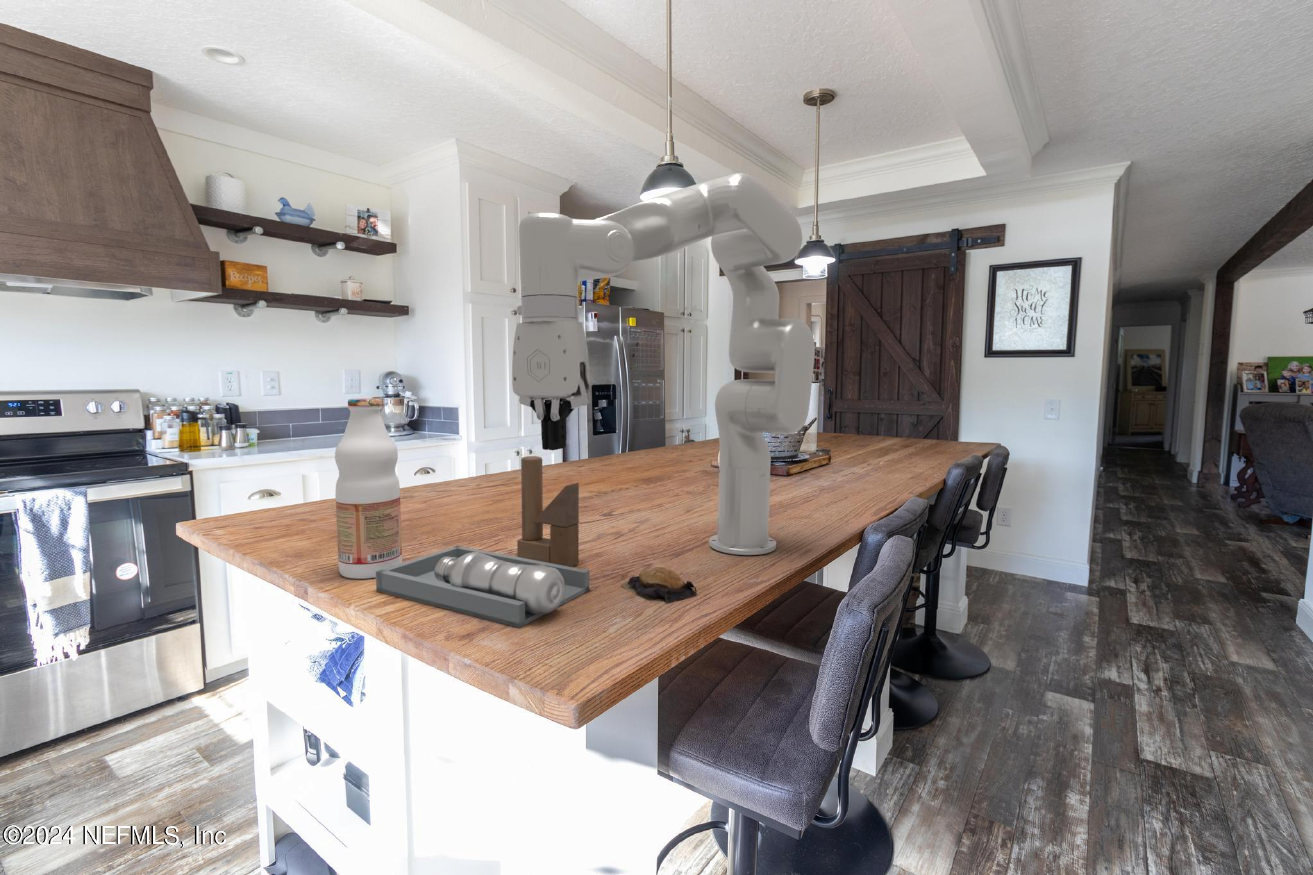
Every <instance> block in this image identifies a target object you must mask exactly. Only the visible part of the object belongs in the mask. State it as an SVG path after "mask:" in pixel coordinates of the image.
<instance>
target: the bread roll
mask: <svg viewBox="0 0 1313 875" xmlns="http://www.w3.org/2000/svg"><path fill="white" fill-rule="evenodd" d="M620 587H621V588H622V589H625V590H627V591H629V592H630V593H632V594H635V595H637V596H639V597H642V598H645V599H646V600H650V601H653V602H661V603H663V602H665V603H666V604H667V605H669V604H671V603H672V604H673V603H675V602H680V601H682V600H688V599H692V598H693V597H695V596H696V595H697V588H696V586H695V585H694V584H693V582H691V581H689V580H687V581H686V582H685V580H684V579H683V578H682V577H681V576H680V575H679V574H678V573H677V572H676V571H674V570H673V569H670V568H666V567H664V566H663V567H662V566H656V567H652V568H648V569H644V570H642V571H641V572H640V573H639V574H638V575H637V576H631V577H630V578H629V580H628V581H627V582H624V583H621V585H620Z"/></svg>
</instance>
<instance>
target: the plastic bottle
mask: <svg viewBox="0 0 1313 875" xmlns="http://www.w3.org/2000/svg"><path fill="white" fill-rule="evenodd" d="M434 574H435V577H436V579H437V580H439V581H442V582H445V583H448V584H451V585H452V586H456V587H461V588H465V589H470V590H474V591H478V592H483V593H487V594H491V595H496V596H500V597H504V598H509V599H513V600H517V601H522V602H525V611H527V612H529V613H532V614H544V615H547V614H549V613H551V612H554V611H555V610H556V609H557V608H559V607H558V605H559V604H560V602H561V600H562V597H563V594H564V588H565V584H564V578H563V576H562V575H561V573H560V572H559V571H558V570H557V569H555V568H553V567H551V566H548V565H538V564H537V565H524V564H514V563H509V562H506V561H502V560H498V559H496V558H493V557H490V556H488V555H485V554H482V553H479V552H472V553H467V554H465V555H463V556H461V557H460V558H456V557H443V558H441V559H440V560H439V561H438V562H437V564H436V566H435V570H434Z"/></svg>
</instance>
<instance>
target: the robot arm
mask: <svg viewBox="0 0 1313 875" xmlns="http://www.w3.org/2000/svg"><path fill="white" fill-rule="evenodd" d="M802 231H803V230H802V228H801V224H800V222H799V220H798V218H797V217H796V215H794V213H793V212H792V211H791V210H790V209H789V208H788V206H787V205H785V204H784V203H783V201H781V200H780V199H779V197H777V195H775V194H774V193H773V191H772V190H770V188H768V187H767V186H766V185H765V184H764V183H762V182H761V181H760V180H759V179H757V178H755V177H754V176H752V175H750V174H747V173H744V172H737V173H735V172H734V173H732V174H729V175H724V176H721V177H717V178H714V179H710V180H706V181H703V182H699V183H697V184H693V185H690V186H687V187H684V188H681V189H678V190H673V191H671V192H667V193H665V194H662V195H658V196H655V197H651V198H649V199H645V200H643V201H641V202H638V203H636V204H633V205H631V206H628V207H626V208H623V209H621V210H618V211H616V212H613V213H611V214H607V215H604V216H602V217H597V218H595V219H583V218H580V219H579V218H571V217H569V216H568V215H565V214H561V213H555V212H535V213H531V214H527V215H525V216H524V217H523V218H522V219H521V220H520V222H519V225H518V243H519V244H518V248H519V270H520V271H519V272H520V274H519V276H520V277H519V278H520V297H521V298H520V302H521V303H520V305H518V306H517V307H516V313H517V314H518V316H521V322H518V323H516V326H515V327H516V328H515V331H514V337H513V345H512V346H513V347H512V359H511V360H512V361H511V362H512V363H511V366H512V367H511V368H512V369H511V385H512V386H511V387H512V392H513V393H514V395H516V396H518V397H519V400H518V401H519V403H520V404H521V405H523V406H526V407H530V408H531V409H532V410H533V412H534V413H535V414H536V418H537V420H539V421H540V429H541V430H540V431H541V448H542V450H545V451H548V450H549V451H556V450H562V449H565V448H566V447H567V445H566V442H567V420H569V419H570V417H571V414H572V412H573V411H574V410H575V409H576V408H577V409H578V408H581V407H585V406H587V405H589V404H588V403H589V399H588V393H589V391H590V384H591V378H590V377H591V373H590V360H589V351H588V350H589V349H588V344H587V337H586V333H585V328H584V325H583V322H581V321H580V313H579V312H580V311H579V309H580V308H579V306H580V304H579V282H584V281H585V282H586V281H589V280H599V279H604V278H610V277H614V276H618V275H619V274H621V273H623V272H624V271H625V270H627V269H628V268H629V266H630V265H631V264H632V262H637V261H644V260H645V261H646V260H649V259H650V260H651V259H654V258H658V257H662V256H665V255H669V254H671V253H674V252H676V251H679V250H681V249H683V248H685V247H689V246H691V245H693V244H694V243H695V244H696V243H698V242H701V241H703V240H705V239H707V238H711V240H710V247H711V252H712V256H713V258H714V259H715V261H716V263H717V264H718V267H720V269H721V270H722V272H723V274H724V275H725V277H726V279H727V280H728V281H727V282H729V285H730V288H731V291H732V309H731V310H732V312H731V321H730V322H731V323H730V333H729V340H728V341H729V342H728V343H729V345H728V358H729V362H730V364H731V366H732V367H733V368H734V369H736V370H737V371H739V372H744V373H767V374H769V373H771V374H772V373H773V374H774V375H775V376H774V378H775V379H756V378H755V379H754V378H752V379H751V378H750V379H747V378H746V379H745V378H744V379H736V380H731V381H729V382H727V383H724V385H722V386H721V387H720V388H719V389H718V391H717V393H716V396H715V401H714V410H715V418H716V422H717V430H718V438H719V442H718V443H719V461H718V462H719V463H718V465H719V466H718V468H719V469H718V503H717V504H718V506H717V508H718V510H717V513H718V514H717V519H718V520H717V534H714V535H712V536H711V537H710V538H709V540H708V541H709V546H710V548H712V549H713V550H716V551H718V552H721V553H724V554H729V555H739V556H740V555H741V556H757V555H764V554H765V555H766V554H769V553H773V551H775V550H776V549H777V541H776V540H775V539H774V538H772V537H770V536H769V525H770V521H769V520H770V518H769V517H770V488H771V485H770V484H771V482H770V481H771V460H772V457H771V450H770V448H769V444H768V442H767V440H766V439H765V436H764V435H763V433H765V434H766V433H767V434H778V435H792V434H795V433H797V432H799V431H800V430H801V429H803V427H804V426H805V424H806V421H807V419H808V416H809V411H810V404H811V396H812V395H811V394H812V386H813V374H814V367H815V366H814V365H815V353H816V352H815V347H816V346H815V340H814V336H813V332H812V331H811V329H810V326H808V324H807V323H806V322H804V321H803V320H801V319H798V318H791V317H790V318H779V312H780V292H779V289H778V286H777V284H776V283H775V280H774V278H772V276H771V274H770V273H769V272H768V271H767V269H766V268H765V267H767V266H772V265H780V264H784V263H787V262H790V261H791V260H794V258H796V256H797V255H798V254H799V252H800V251H801V248H802V244H803V232H802Z"/></svg>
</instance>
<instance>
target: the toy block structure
mask: <svg viewBox="0 0 1313 875" xmlns="http://www.w3.org/2000/svg"><path fill="white" fill-rule="evenodd" d="M520 464H521V465H520V468H521V470H520V472H521V474H520V476H521V483H520V484H521V489H520V490H521V538H520V539H519V538H518V539H517V541H516V542H517V543H516V546H517V549H516V550H517V557H520V558H526V559H531V560H536V561H542V562H547V563H552V564H557V565H563V566H568V567H573V568H574V567H575V566H577V565H578V564H579V558H580V556H579V555H580V554H579V553H580V552H579V550H580V549H579V548H580V546H579V540H580V536H579V526H580V525H579V521H580V518H579V517H580V514H579V511H580V508H579V507H580V506H579V505H580V504H579V502H580V500H579V499H580V497H579V496H580V494H579V488H580V487H579V486H580V485H579V482H576V483H571V484H568V485H565V486H564V487H563V488H562V489H560V491H559V493H558V494H557V495H556V496H555V497H554V498H553V499H552V501H550V502H549V504H548V505H547V506H546V507H545V508H544V509H543V507H544V506H543V504H544V503H543V502H544V501H543V496H544V493H543V491H544V490H543V457H541V456H537V455H529V456H523V457H521V460H520ZM544 525H549V528H550V529H549V532H550V534H549V535H550V536H549V537H550V538H548V537H547V538H546V537H544Z"/></svg>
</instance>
